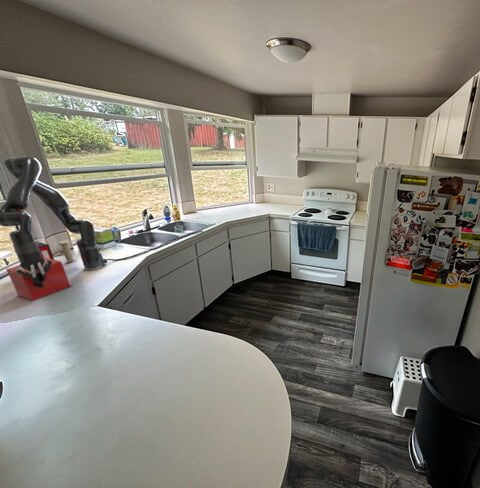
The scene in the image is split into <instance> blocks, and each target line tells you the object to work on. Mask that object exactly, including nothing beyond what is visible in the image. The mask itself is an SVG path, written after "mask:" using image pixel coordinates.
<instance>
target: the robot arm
mask: <svg viewBox="0 0 480 488" xmlns="http://www.w3.org/2000/svg"><path fill="white" fill-rule="evenodd" d="M3 165H4V167H5V169H6V170H7V171H8V172H9V173H10V174H11V175H12V176H13V177H15V179H17V181H16V182H15V183H14V184H13V185H12V186H11V187H10V188H9V189H8V191H7V193H6V197H5V202H4V203H3V204H2V205H1V207H0V226H1V227H6V228H7V227H8V228H9V227H19V229H17V230H13V231H10V232H9V234H8V235H9V238H10V241H11V243H12V247H13V246H14V247H13V249H14V253H15V255H16V256H17V259H18V261H19V263H20V265H19V266H20V267H19V268H18V269H15V270H14V271H15V272H17V273H19V274H21V275H23V276H24V277H27V278H30V277H31V278H32V281H33V282H34V283H37V284H38V283H39V281H38V278H37V277H36V274H35V270H36V269H37V270H38V272H39V274H40V277H41V279H42V281H46V276H45V273H46V272H49V269H50V266H51V263H52V261H50V260H44V259H43V258H42V255H41V253H40V250H39V248H38V245H37V244H36V242H37V241H36V240H35V237H34V235H33V232H32V223H33V222H32V216H31V214H30V213H29V212H28V211H25V210H27V209H28V207H29V203H30V199H31V194H32V193H33V195H35V196H36V197H37V198H38V199H39V200H40V202H42V204H43V205H44V206H45V207H47V209H49V210H50V211H51V213H53V214H54V215H55V216H56V218H58V220H59V221H60V222H61V223H62V224H63V226H64V227H65V228H66V230H68V231H69V232H70V234H75V235H80V238H79V239H77V240H76V241H75V243H76V247H77V249H78V252H79V256H80V259H81V261H82V265H83V267H84V270H85V271H95V270H98V269H101V268H103V267H104V266H106V265H105V264H108V261H114V262H115V261H122V260H126V259H131V258H133V257H136V256H139V255H142V254H145V253H148V252H150V251H152V250H155V249H157V248H159V247H162V246H164V245H167V244H168V243H171V242H173V241H176V240H178V239H181V238H183V237H187V236H190V235H194V234H197V233H201V232H203V230H198V231H195V232H191V233H188V234H187V233H186V234H184V235H180V236H178V237H175V238H173V239H170V240H168V241H166V242H164V243H162V244H159V245H160V246H159V245H157V246H158V247H157V246H154V247H155V248H154V247H152V248H153V249H152V248H150V249H147V250H148V251H147V250H144V251H141V252H139V253H136V254H133V255H130V256H126V257H123V258H117V259H116V258H114V259H113V258H104V257H103V255H102V252H100V250H99V248H98V247H97V244H96V235H95V231H94V225H93V223H92V221H90V220H88V219H77V218H76V217H75V216H74V215H73V214H72V213H71V212H70V206H69V201H68V200H67V198H66V197H65V196H64V195H63V193H61V192H60V191H59V190H57V188H54V187H53V186H52V187H51V186H50V185H48V184H45V183H43V182H41V181H39V180H38V179H39V177H40V175H41V172H42V165H41V163H40V161H39V160H38V159H37V158H35V157H33V156H29V155H23V156H15V157H13V156H12V157H8V158H5V159H3ZM35 241H36V242H35ZM43 264H45V266H44V269H43V267H42V266H43ZM23 268H24V269H26V270H28V272H29V275H28V274H26V273H25V272H23V271H24V270H23Z"/></svg>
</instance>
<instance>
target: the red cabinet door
mask: <svg viewBox="0 0 480 488" xmlns="http://www.w3.org/2000/svg"><path fill="white" fill-rule="evenodd" d="M43 269H44V266H43ZM25 273H26V274H28V275H29V272H28V271H27V272H25ZM35 274H36V277H37V278H38V281H39V283H38V284H37V283H34V282H33V281H32V278H31V277H30V278H27V277H24V276H23V275H21V274H20V275H21V277H22V279H23V281H24V284H25V286H26V288H27V290H28V293H29V295H30V297H31V299H32V300H31V301H36V300H38V299H40V298H43V297H45V296H48V295H51V294H54V293H57V292H60V291H62V290H65V289H67V288H70V287H71V284H70V281H69V278H68V275H67V273H66V270H65V268H64V265H63V262H62V261H60V262H57V263H53V264H51V266H50V269H49V272H46V273H45V276H46V281H42V279H41V277H40V274H39V272H38V270H37V269H36V270H35Z"/></svg>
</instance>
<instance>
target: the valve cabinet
mask: <svg viewBox="0 0 480 488" xmlns="http://www.w3.org/2000/svg"><path fill="white" fill-rule="evenodd" d="M44 260H50V261H52V263H51V264H53V263H57V262H61V261H60V260H57V259H54V260H53V259H49V258H45V259H44ZM43 266H45V264H43ZM43 266H42V267H43ZM19 267H20V265H16V266H13V267H9V268H5V270H6V272H7V274H8V276H9V278H10V280H11V283H12V285H13V288H14V289H15V291H16V294H17V296H18V297H21V298H24V299H26V300H27V299H28V300H30V301H33V300H32V299H31V297H30V295H29V293H28V290H27V288H26V286H25V284H24V281H23V279H22V277H21V275H20V274H19V273H17V272H15V271H14V270H15V269H18V268H19ZM23 270H24V271H23V272H27V271H28V270H26V269H24V268H23Z"/></svg>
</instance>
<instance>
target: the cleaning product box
mask: <svg viewBox="0 0 480 488" xmlns="http://www.w3.org/2000/svg"><path fill="white" fill-rule="evenodd" d="M35 242H36V244H37V245H38V248H39V250H40V253H41V255H42V258H43V259H45V258H49V259H53V260H55V257H54V255H53V253H52V249H51V247H50V245H49V244H48V243H45V242H40V241H37V240H35ZM12 247H13V248H14V246H13V245H12Z"/></svg>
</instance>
